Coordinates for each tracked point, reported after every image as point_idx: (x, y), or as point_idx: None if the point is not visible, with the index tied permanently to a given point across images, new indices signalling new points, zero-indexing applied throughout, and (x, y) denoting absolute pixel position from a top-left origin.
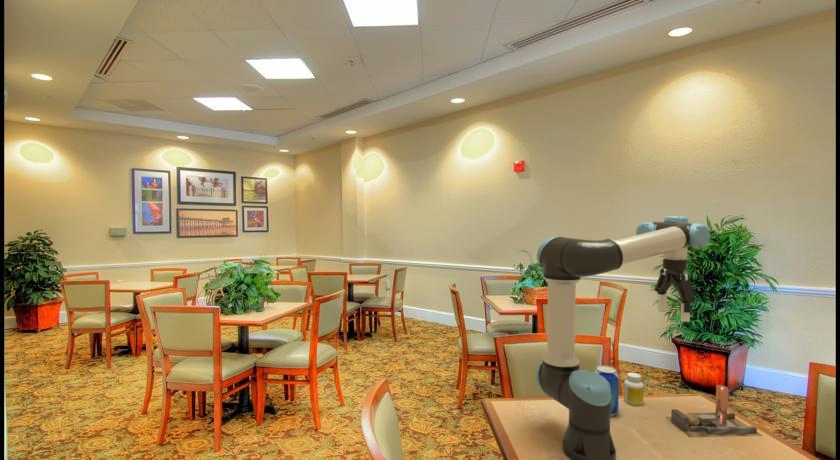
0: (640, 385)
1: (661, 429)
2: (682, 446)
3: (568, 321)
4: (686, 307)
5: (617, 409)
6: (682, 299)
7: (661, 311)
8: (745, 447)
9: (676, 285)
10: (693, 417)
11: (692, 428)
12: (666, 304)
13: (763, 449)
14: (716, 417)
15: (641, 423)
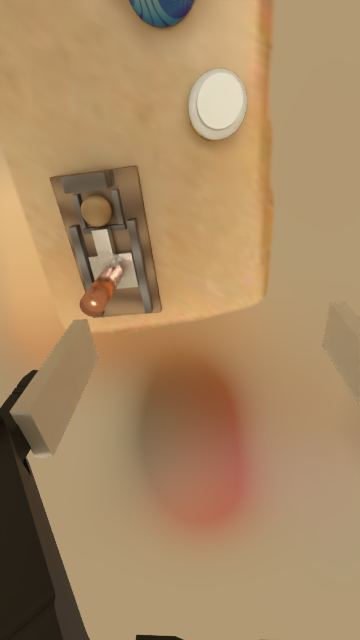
0: (192, 119)
1: (89, 132)
2: (23, 147)
3: None
4: (8, 400)
5: (136, 11)
6: (1, 442)
7: (328, 317)
8: (58, 271)
9: (20, 628)
10: (82, 211)
11: (73, 198)
12: (343, 379)
13: (60, 295)
14: (103, 264)
15: (109, 87)
